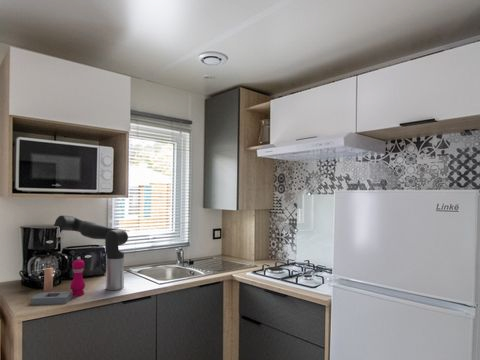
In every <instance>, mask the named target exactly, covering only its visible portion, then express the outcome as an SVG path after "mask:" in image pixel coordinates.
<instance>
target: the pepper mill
mask: <svg viewBox="0 0 480 360" xmlns="http://www.w3.org/2000/svg"><path fill="white" fill-rule="evenodd" d="M85 266H86V265H85V261H84V260H83V259H81V256H77V258H76V259H75V260H73V262H72V268H73V269H72V272H73V278H72V281H71V283H70V285H69V287H70V290H71V291H70V292H73V297H80V296H83V295H84V294H85V287H86V282H85V280H84V278H83V272H84V267H85Z"/></svg>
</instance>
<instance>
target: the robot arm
mask: <svg viewBox="0 0 480 360" xmlns="http://www.w3.org/2000/svg"><path fill="white" fill-rule="evenodd" d="M53 224H54V225H53V227H54V226H59V227H60V234H61V233H62V231H71V232H78V233H80V235H81V236H83V237H85V238H89V239H93V240H104V243H105V245H104V246H105V255H106V272H105V274H106V275H105V290H108V291H119V290H123V288H124V287H125V285H124V284H125V269H124V268H125V267H124V263H125V253H124V252H123V251H120V250H119V246H123V245H124V244H126V243H127V242H128V240H129V235H128V233H127V232H126V231H125V230H124V229H121V228H112V227H108V226H105V225H103V224H100V223H96V222H93V221H92V222H91V221H87V220H82V219H79V218H77V217H75V216H71V215H59V216H58V217H56V219H55V221H54V223H53ZM35 273H37V272H36V271H32V272H31V280H33V279H36V280H39V279H41V277H40V276H44V270H41V271H40V272H38V273H37V274H35ZM58 276H61V270H60V269H56V270H55V269H53V278H57V277H58Z"/></svg>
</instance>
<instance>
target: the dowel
mask: <svg viewBox="0 0 480 360" xmlns="http://www.w3.org/2000/svg"><path fill="white" fill-rule="evenodd" d="M53 270H54V267H52V266H51V267H50V268H45V271H44V279H43V280H44V281H43V292H53V284H54V283H53V282H54V276H53Z"/></svg>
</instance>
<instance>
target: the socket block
mask: <svg viewBox="0 0 480 360" xmlns="http://www.w3.org/2000/svg"><path fill="white" fill-rule="evenodd" d="M73 297H74V296H73V292H71V291H52V292H44V291H43V292H39V293H37V294H35V295H34V296H32V297H31V298H30V305H31V306H37V305H61V304H63V305H65V304H67V303H68V302H69V301H70V300H71V299H72V298H73Z"/></svg>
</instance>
